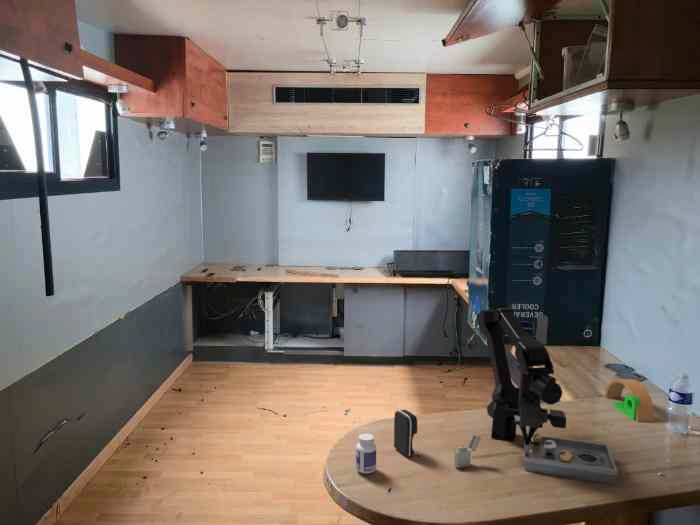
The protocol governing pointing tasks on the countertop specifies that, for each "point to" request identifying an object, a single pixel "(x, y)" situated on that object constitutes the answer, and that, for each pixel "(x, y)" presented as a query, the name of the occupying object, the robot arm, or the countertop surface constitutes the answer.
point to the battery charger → (404, 431)
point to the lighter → (466, 452)
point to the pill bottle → (366, 454)
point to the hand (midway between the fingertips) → (526, 444)
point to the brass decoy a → (537, 437)
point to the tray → (585, 465)
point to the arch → (637, 390)
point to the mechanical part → (628, 406)
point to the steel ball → (550, 446)
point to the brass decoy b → (565, 456)
